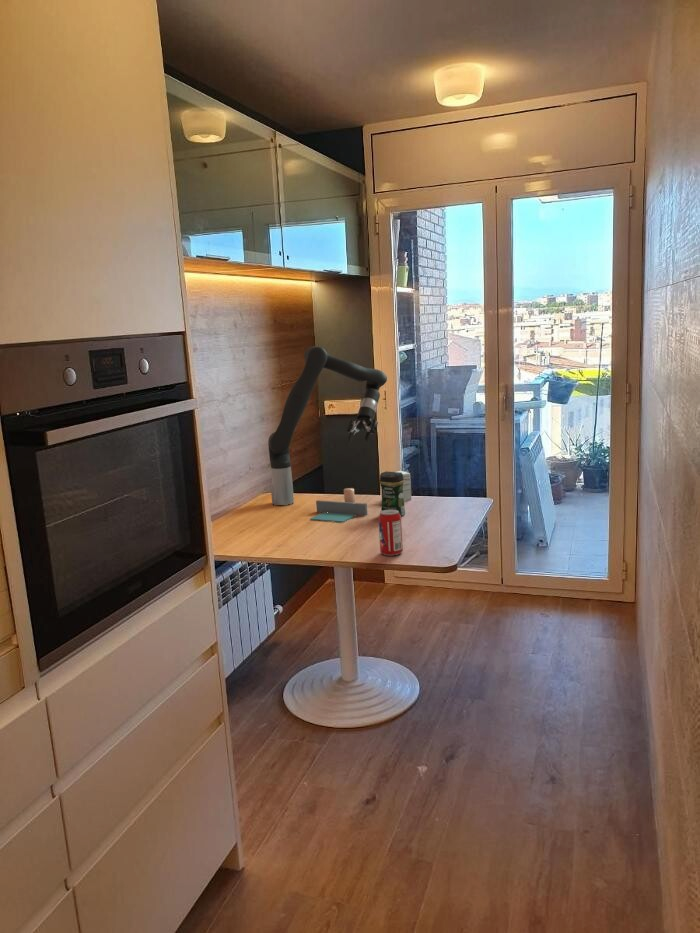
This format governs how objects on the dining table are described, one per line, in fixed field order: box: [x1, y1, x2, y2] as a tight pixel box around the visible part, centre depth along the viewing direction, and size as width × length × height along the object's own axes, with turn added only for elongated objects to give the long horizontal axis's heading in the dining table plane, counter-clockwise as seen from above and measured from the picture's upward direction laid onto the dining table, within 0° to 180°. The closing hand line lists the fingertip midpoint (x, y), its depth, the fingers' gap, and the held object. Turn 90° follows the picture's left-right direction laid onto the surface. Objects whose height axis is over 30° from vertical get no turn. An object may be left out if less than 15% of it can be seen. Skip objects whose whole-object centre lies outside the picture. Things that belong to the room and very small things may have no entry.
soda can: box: [378, 509, 404, 557], centre depth 252 cm, size 8×8×15 cm
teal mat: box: [309, 512, 357, 523], centre depth 307 cm, size 16×11×1 cm
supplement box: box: [396, 470, 412, 502], centre depth 329 cm, size 7×7×13 cm
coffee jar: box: [379, 470, 406, 518], centre depth 302 cm, size 10×8×19 cm
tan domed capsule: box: [343, 487, 356, 503], centre depth 319 cm, size 4×4×9 cm
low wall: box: [315, 499, 368, 517], centre depth 313 cm, size 24×2×5 cm, turn 61°
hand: (358, 440), depth 327 cm, fingers open, 8 cm apart
